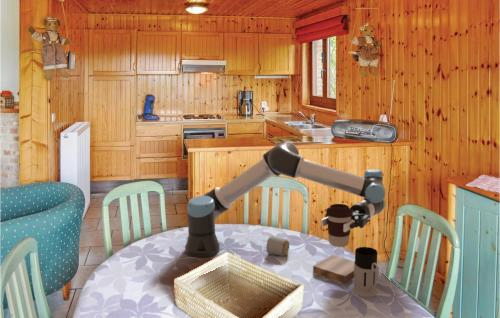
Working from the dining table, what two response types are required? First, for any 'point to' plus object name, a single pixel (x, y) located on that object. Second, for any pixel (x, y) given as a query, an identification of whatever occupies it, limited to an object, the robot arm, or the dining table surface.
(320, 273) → the walnut slab
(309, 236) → the dining table surface
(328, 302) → the dining table surface
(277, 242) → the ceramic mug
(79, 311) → the dining table surface
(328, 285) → the dining table surface
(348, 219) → the coffee cup
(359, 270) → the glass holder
